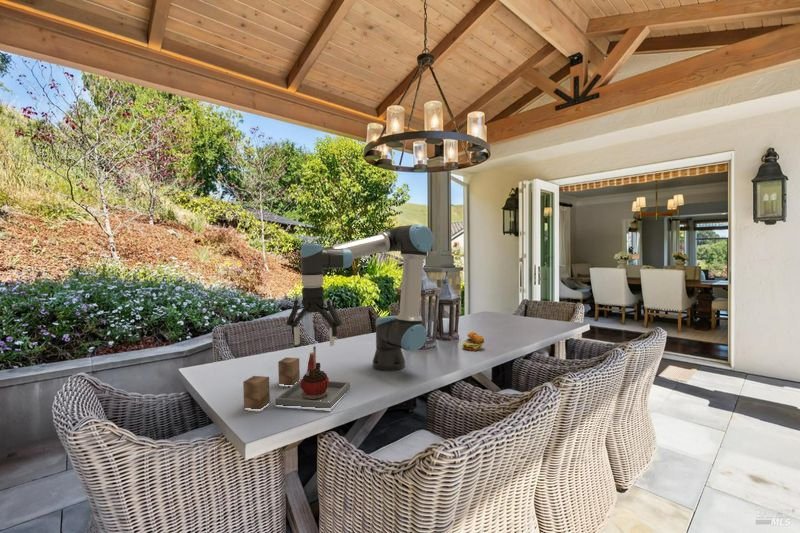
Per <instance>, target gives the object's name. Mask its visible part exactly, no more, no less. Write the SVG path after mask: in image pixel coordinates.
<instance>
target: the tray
mask: <svg viewBox="0 0 800 533" xmlns="http://www.w3.org/2000/svg"><path fill="white" fill-rule="evenodd" d="M302 379H303V378H301V379H300V381H298V382H297V383H296V384H294V385H293V386H292V387H288V388H287V389H286V390H285V391H283V392H282V393H281V394H280V395H279V396H277V397H276V398H275V401H274V403H275V405H283V406H301V407H315V408H331V407H332V406H333V405H334V404H335V403H336V402H337V401H338V400H339V399H340V398H341V397H342V396H343V395H344V394H345V393H346V392H347V391H348V390H349V389H350V390H351V382H350V381H334V380H329V386H328V387H327V389H328V391H329V393H328V395H325V396H324V397H320V398H316V399H308V398H305V397H304V396H302V392H303V389H301V380H302ZM350 390H349V391H350ZM320 400H321V401H320ZM328 401H329V402H328Z"/></svg>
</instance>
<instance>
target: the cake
mask: <svg viewBox="0 0 800 533" xmlns="http://www.w3.org/2000/svg"><path fill="white" fill-rule="evenodd" d="M316 348H317V347H316V346H315V345H314V346H313V347H312V349H313V352H309V357H308V358H309V359H308V362H307V369H306V372H305V374H304V375H303V376H302V378H301V379H302V380H301V379H300V380H301V389H303V392H302V396H304V397H305V398H308V399H316V398H320V397H324V396H325V395H328V393H329V391H328V389H327V387H328V386H329V381H330V380H329V377H328V376H327V373H326V372H325V371H324V370H321V363H320V362H317V355H316V352H317V350H316Z"/></svg>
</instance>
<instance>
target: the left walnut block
mask: <svg viewBox="0 0 800 533" xmlns="http://www.w3.org/2000/svg"><path fill="white" fill-rule="evenodd" d="M242 382H243V383H242V384H243V386H242V387H243V409H244V408H251V409H261V408H263V407H264V406H266V405H267V404H268V403H270V404H271V401H270V400H271V399H270V397H271V396H270V393H271V392H270V377H269V376H264V375H263V376H262V375H252V376H251V377H249V378H247V379H245V380H244V381H242Z"/></svg>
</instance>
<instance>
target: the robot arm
mask: <svg viewBox="0 0 800 533" xmlns="http://www.w3.org/2000/svg"><path fill="white" fill-rule="evenodd" d="M434 243H435V238H434V234H433V232H432V231H431V229H430V228H429V227H428V226H427V225H424V224H411V225H409V224H407V225H400V226H396V227H392V228H389V229H386V230H384V231H383V230H382V231H379V232H378V233H377V235H371V236H367V237H363V238H360V239H359V238H358V239H354V240H350V241H346V242H343V243H338V244H333V245H330V246H326V247H323V245H322V243H303V244H302V245H301V247H300V263H301V264H300V265H301V266H300V267H301V286H302V288H301V293H302V294H301V296H302V299H301V300H300V299H299V298H298V299H295V300H294V302H293V307H292V310H291V312H290V314H289V317H288V318H287V320H286V325H287V326H290V327H291V335H292V336H293V338H294V339H293V340H294V346H298V345H299V344H300V343H301V342H300V341H301V340H300V339H301V338H300V325H298V324H299V323H300V322H301V320H302V319H303V318H304V317H305V315H306V314H307V313H310V314H311V313H315V314H316V313H319V315H321V316H322V318H323V319H324V320H325V321H326V323H327V324H328V325H329V326H330V328H329V327H328V329H329V347H333V346H335V343H336V341H335V337H336V336H337V334H338V331H337V330H338V329H337V327H339V326H341V325H342V321H341V318H340V317H339V315H338V312H337V311H336V309H335V307H334V302H333V299H328V300H327V299H326V300H325V299H324V296H325V294H324V292H325V291H324V286H323V285H324V270H329V269H330V270H333V269H334V270H338V269H342V270H343V269H347V268H350V267H351V266H352V264H353V262H354V259H358V258H362V257H366V256H369V255H374V254H377V253H381V252H382V253H384V254H386V253H390V252H400V257H402V259H403V261H402V262H403V263H402V277H401V287H400V288H401V290H400V302H399V313H398V315H389V316H388V315H386V316H380V317H377V318H376V321H375V353H374V356H373V359H372V368H373V369H375V370H379V371H385V372H387V371H388V372H390V371H399V370H402V369H403V368H405V367H406V360H405V356H404V353H403V351H402V349H403V350H404V351H409V352H416V351H419V350H420V349H421V348H422V347H423V346H424V344H426V341H427V336H428V335H427V334H428V332H427V329H426V327H424V326H423V318H422V317H421V316H420V309H421V308H420V307H421V295H422V294H421V293H422V282H423V281H422V280H423V270H424V268H423V267H424V266H423V265H424V261H425V259H427V257H428V252H429V251H431V250H432V248H433V246H434ZM301 305H302V306H303V308H302V309H301V310H300V313H299V314H298V315H297V313H298V311H299V309H300V307H301ZM324 306H326V307H327V309H326V308H325V307H324ZM327 310H328V311H329V313H330V314H329V313H328V312H327ZM296 315H297V317H296Z"/></svg>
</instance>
